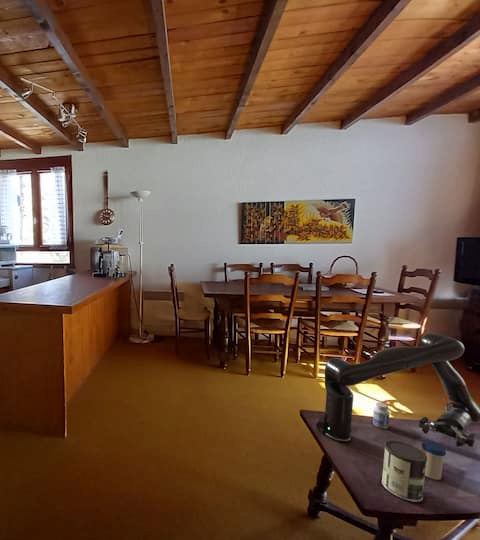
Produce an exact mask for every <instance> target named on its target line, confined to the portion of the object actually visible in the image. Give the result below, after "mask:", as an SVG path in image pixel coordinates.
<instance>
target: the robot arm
mask: <svg viewBox="0 0 480 540" xmlns="http://www.w3.org/2000/svg"><path fill="white" fill-rule="evenodd" d="M464 352H465V346H464V344H463V343H462V342H461V341H459V339H456V338H453V337H450V336H447V335H443V334H439V333H435V332H429V333H426V334H424V335H423V336H422V337H421V340H420V346H392V347H388V348H385V349H381V350H378V351H376V352H374V354H373V355H372V356H371V357H370V359H368V360H366V361H363V362H359V363H350V362H348V361H346V360H345V359H343V358H340V357H331V358H330V359H328V361H327V362H326V364H325V367H324V387H325V392H326V394H325V409H324V413H323V416H322V415H320V416H319V418H318V420H317V422H316V423H315V427H316V430H317V431H318V432H319V433H320V432H322V435H324V436H326V437H328V438H330V439H331V440H334V441H335V442H341V443H348V442H350V441H351V433H352V419H353V406H354V393H353V392H352V390H351V389H350V387H351V386H355V385H358V384H362V383H364V382H366V381H369V380H371V379H374V378H378V377H382V376H385V375H386V376H387V375H389V374H393V373H397V372H401V371H405V370H409V369H413V368H416V367H421V366H425V365H430V364H431V365H432V368H433V369H434V370H435V372H436V374H437V376H438V378H439V380H440V382H441V385H442V388H443V391H444V394H445V396H446V397H447V399H448V400H450V401H447V402H446V403H445V412H443V413H442V414H440V415H439V416H438V418H437V419H436V420H433V421H432V420H430V419H429V417H426V416H423V417H422V418H421V419H419V420H418V427H419V428H421V432H423V434H424V435H427V434H428V433H429V432H432V433H439V434H443V435H446V436H448V437H450V438H452V439H453V440H455V441H456V442H455V446H456V447H458V448H460V447H464V445H467V446H468V447H471V448H473V447H474V445H475V442H476V434H474V433H466V432H467V430H468V429H469V426H470V425H471V423H480V406H479V405H478V403H477V402H476V401H475V400H474V399H473V397H472V396H471V395H470V391H469V389H468V387H467V384H466V382H465V380H464V379H463V377H462V376H461V374H459V372H458V371H457V370H456V369H455V368H454V367H453V366H452V364H451V363H450V361H454V360H456V359H458V358H460V357H462V355H463V354H464Z"/></svg>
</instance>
